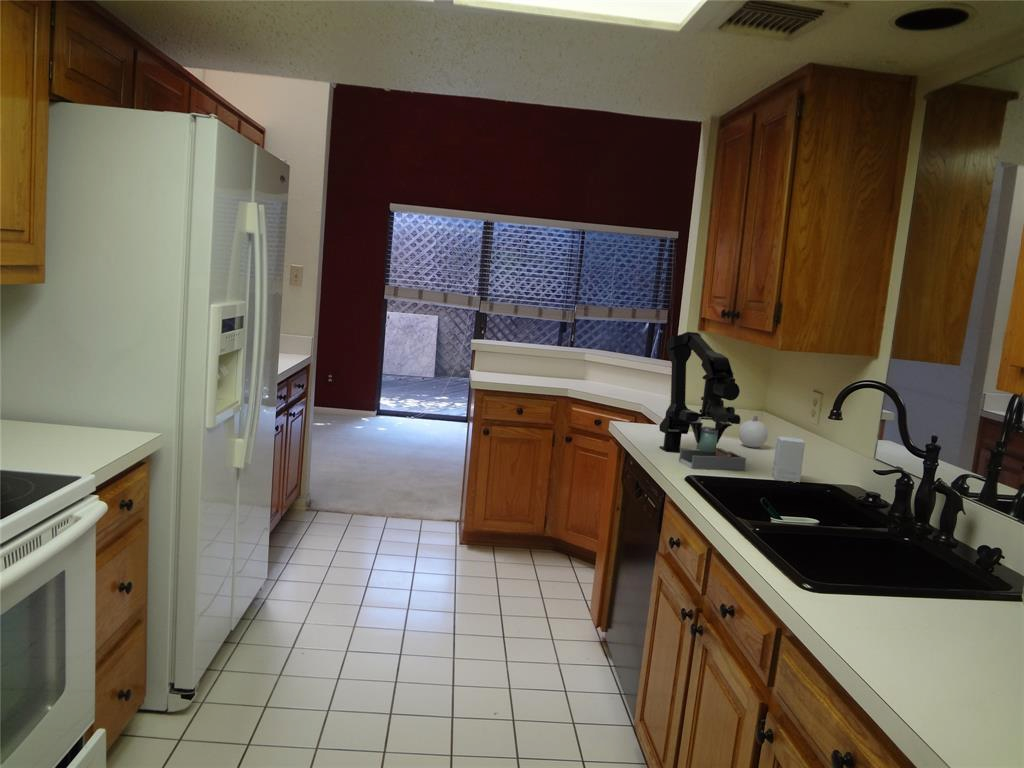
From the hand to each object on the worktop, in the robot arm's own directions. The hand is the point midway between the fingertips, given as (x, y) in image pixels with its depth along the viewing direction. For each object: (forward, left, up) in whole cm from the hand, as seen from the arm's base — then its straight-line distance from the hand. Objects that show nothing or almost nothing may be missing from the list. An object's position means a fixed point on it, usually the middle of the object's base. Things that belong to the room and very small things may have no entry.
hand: (706, 443), depth 244 cm
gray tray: (0, +3, -7) cm, 8 cm away
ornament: (-34, +37, -8) cm, 50 cm away
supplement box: (+14, +21, -8) cm, 26 cm away
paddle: (0, +6, -7) cm, 9 cm away
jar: (0, 0, -2) cm, 2 cm away
